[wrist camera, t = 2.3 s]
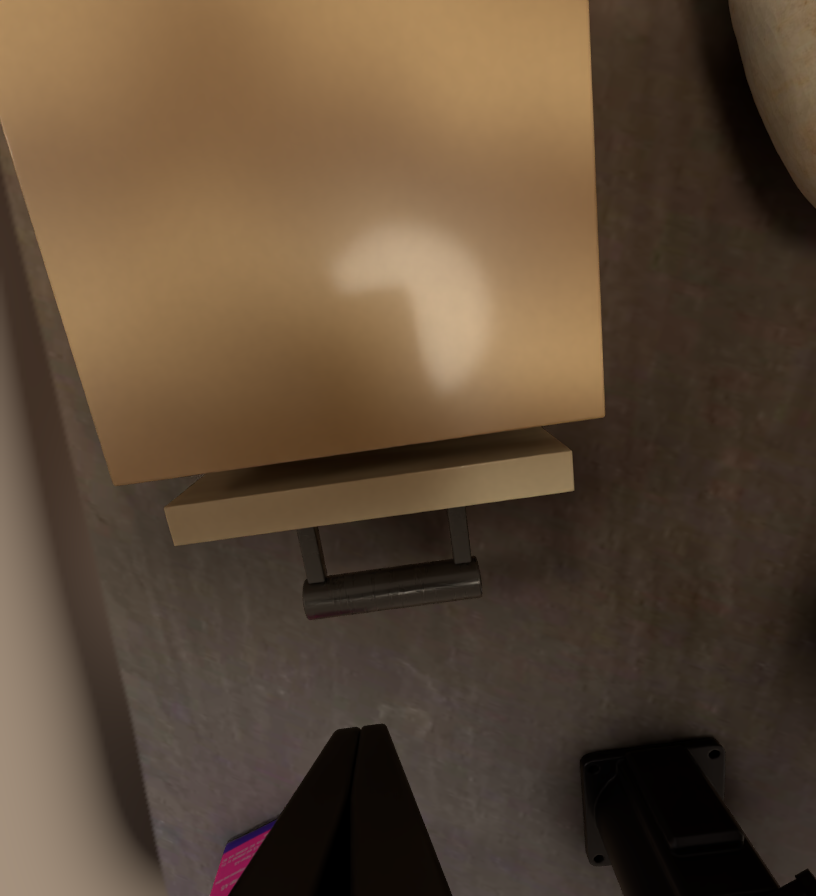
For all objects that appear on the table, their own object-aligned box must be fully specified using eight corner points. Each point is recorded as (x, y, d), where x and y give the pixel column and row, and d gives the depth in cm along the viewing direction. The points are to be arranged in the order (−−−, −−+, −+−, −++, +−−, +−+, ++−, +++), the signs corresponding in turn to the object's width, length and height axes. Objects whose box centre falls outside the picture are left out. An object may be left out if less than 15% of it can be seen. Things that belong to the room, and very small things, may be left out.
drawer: (539, 552, 19) (583, 625, 15) (255, 590, 20) (210, 674, 15) (502, 96, 15) (546, 0, 11) (146, 151, 16) (39, 82, 11)
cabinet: (536, 383, 19) (606, 417, 12) (209, 430, 19) (112, 487, 13) (506, -14, 15) (580, -248, 9) (113, 48, 16) (-82, -135, 9)
